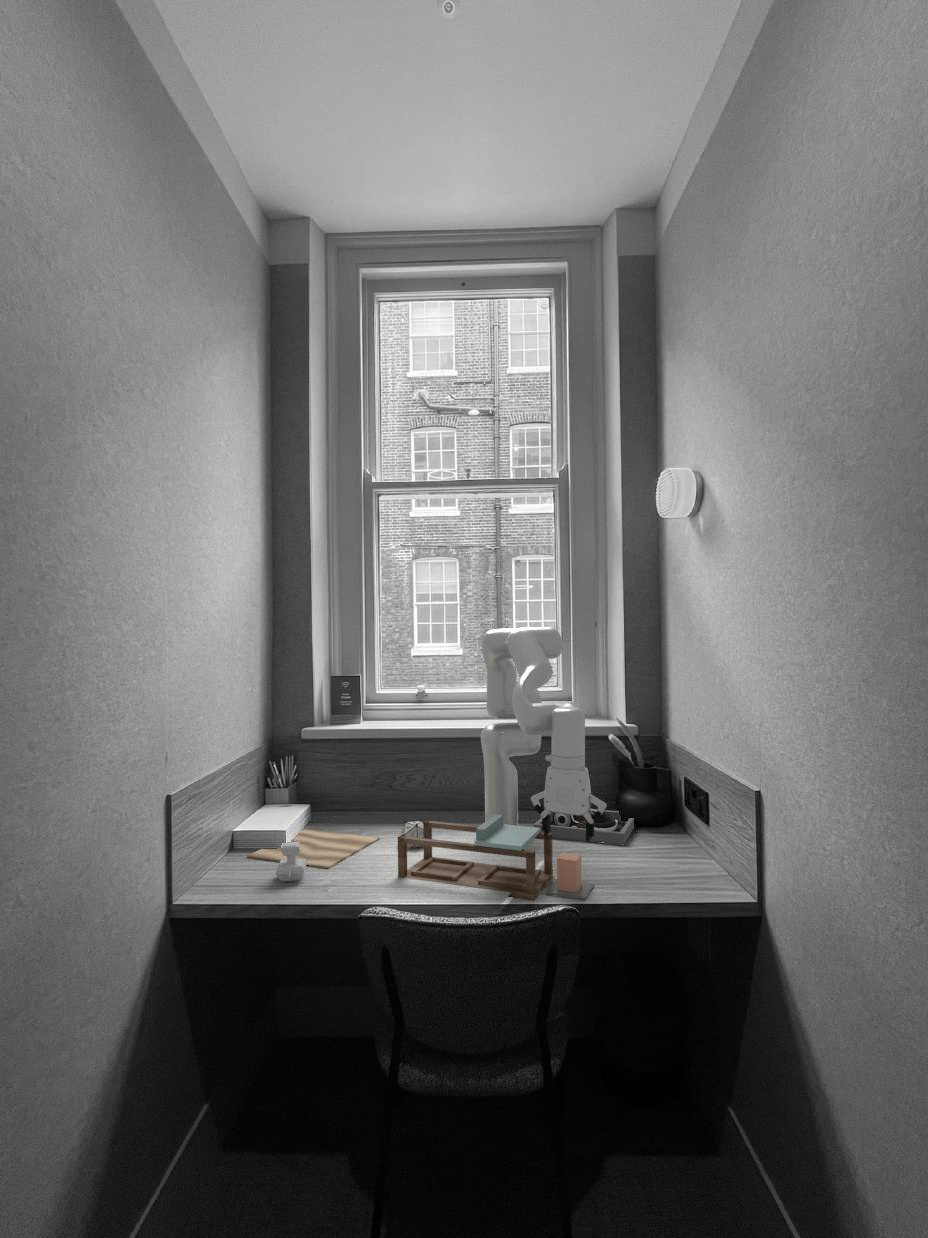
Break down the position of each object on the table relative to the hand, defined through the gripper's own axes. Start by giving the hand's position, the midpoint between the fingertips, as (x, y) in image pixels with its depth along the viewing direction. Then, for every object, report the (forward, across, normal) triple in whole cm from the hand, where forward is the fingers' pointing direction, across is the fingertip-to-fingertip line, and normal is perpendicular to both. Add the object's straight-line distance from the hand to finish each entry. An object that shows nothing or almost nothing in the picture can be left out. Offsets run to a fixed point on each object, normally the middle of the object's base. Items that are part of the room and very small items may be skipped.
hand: (567, 836), depth 164 cm
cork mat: (+14, -71, +5) cm, 73 cm away
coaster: (+12, +1, -1) cm, 12 cm away
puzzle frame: (+12, -22, -2) cm, 26 cm away
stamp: (+13, -63, -17) cm, 67 cm away
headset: (+14, -6, +48) cm, 51 cm away
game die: (+14, -45, +13) cm, 49 cm away
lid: (+2, -14, -2) cm, 14 cm away
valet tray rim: (+13, -6, +47) cm, 49 cm away
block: (+11, +1, -1) cm, 11 cm away
